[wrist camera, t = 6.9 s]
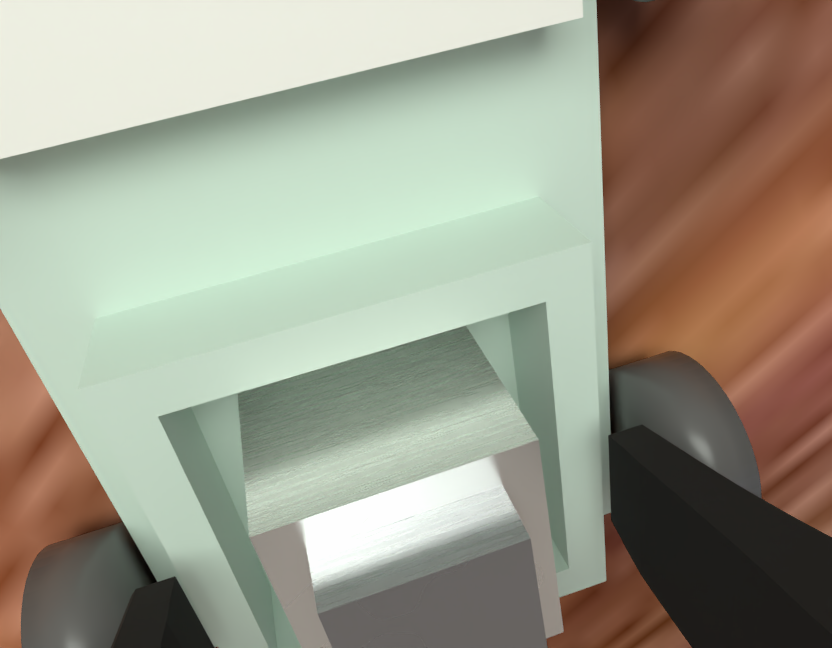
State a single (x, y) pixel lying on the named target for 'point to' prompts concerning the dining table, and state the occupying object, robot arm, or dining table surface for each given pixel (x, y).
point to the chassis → (305, 261)
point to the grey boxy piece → (401, 502)
